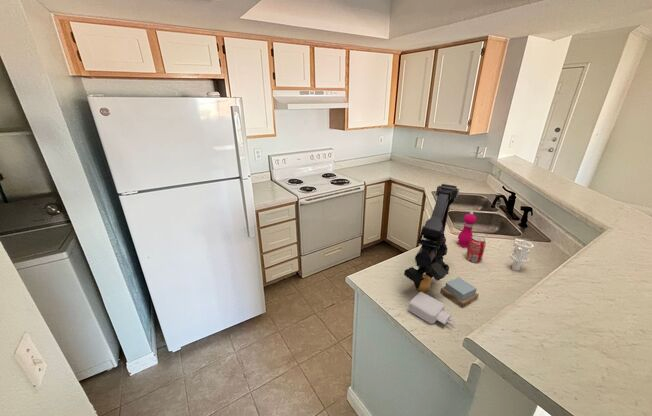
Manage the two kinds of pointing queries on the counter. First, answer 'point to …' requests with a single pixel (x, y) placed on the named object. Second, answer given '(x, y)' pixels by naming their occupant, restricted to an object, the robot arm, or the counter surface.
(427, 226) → the robot arm
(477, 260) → the soda can
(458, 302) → the tower base
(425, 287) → the orange cylinder
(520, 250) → the white tall piece
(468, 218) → the pepper mill
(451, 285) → the block
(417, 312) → the charger
